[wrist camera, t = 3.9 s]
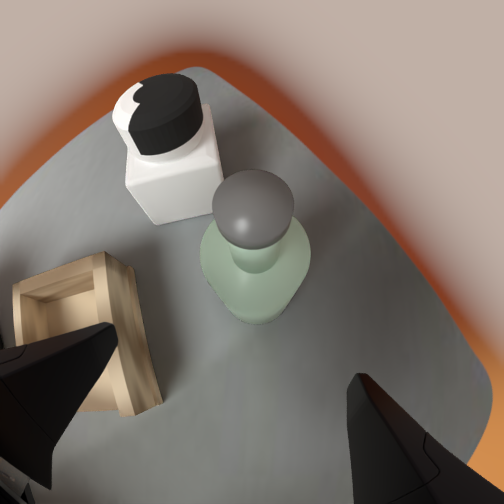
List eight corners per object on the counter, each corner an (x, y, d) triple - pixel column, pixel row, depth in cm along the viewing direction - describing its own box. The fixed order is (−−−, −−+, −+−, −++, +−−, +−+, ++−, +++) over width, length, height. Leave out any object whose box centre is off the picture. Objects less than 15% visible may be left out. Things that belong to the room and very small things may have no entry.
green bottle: (299, 308, 22) (363, 242, 8) (239, 334, 21) (204, 311, 8) (272, 252, 23) (288, 126, 10) (215, 276, 23) (156, 173, 9)
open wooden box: (163, 402, 19) (138, 415, 15) (60, 410, 18) (28, 416, 14) (133, 268, 23) (107, 249, 19) (42, 296, 22) (10, 285, 18)
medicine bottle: (218, 152, 27) (200, 55, 16) (229, 211, 25) (209, 110, 14) (153, 168, 27) (109, 81, 16) (155, 227, 25) (93, 144, 13)
